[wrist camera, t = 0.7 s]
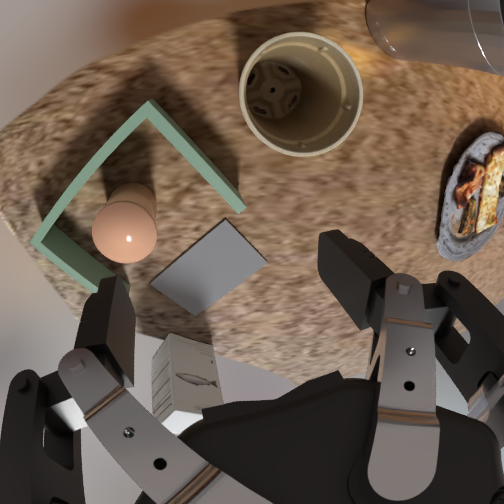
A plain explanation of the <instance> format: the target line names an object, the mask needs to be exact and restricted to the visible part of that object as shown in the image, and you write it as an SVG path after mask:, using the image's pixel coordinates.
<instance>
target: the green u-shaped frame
mask: <svg viewBox="0 0 504 504" xmlns="http://www.w3.org/2000/svg"><path fill="white" fill-rule="evenodd" d="M146 118H147V119H148V120H149V121H150V122H151V123H152V124H153V125H154V126H155V127H156V128H157V129H158V130H159V131H160V132H161V133H162V134H163V135H164V136H165V137H166V138H167V139H168V140H169V141H170V142H171V143H172V145H173V146H174V147H175V148H176V149H177V150H178V151H179V152H180V153H181V154H182V155H183V156H184V157H185V158H186V159H187V160H188V161H189V162H190V163H191V164H192V165H193V167H194V168H195V169H196V170H197V171H198V172H199V173H200V174H201V175H202V176H203V177H204V178H205V179H206V180H207V181H208V182H209V183H210V185H211V186H212V187H213V188H214V189H215V190H216V191H217V192H218V193H219V194H220V195H221V196H222V197H223V198H224V199H225V200H226V202H227V203H228V204H229V205H230V206H231V207H232V208H233V209H234V210H235V211H236V212H237V213H238V214H239V213H240V212H242V211H243V210H244V209H245V208H247V207H246V205H245V203H244V201H243V199H242V197H241V195H240V193H239V192H238V190H237V189H236V188H235V187H234V186H233V185H232V184H231V183H230V181H229V180H228V179H227V178H226V177H225V176H224V175H223V174H222V173H221V171H220V170H219V169H218V168H217V167H216V166H215V165H214V164H213V163H212V162H211V160H210V159H209V158H208V157H207V156H206V155H205V154H204V153H203V152H202V151H201V149H200V148H199V147H198V146H197V145H196V144H195V143H194V142H193V141H192V140H191V139H190V138H189V136H188V135H187V134H186V133H185V132H184V131H183V130H182V129H181V128H180V127H179V126H178V125H177V124H176V122H175V121H174V120H173V119H172V118H171V117H170V116H169V115H168V114H167V113H166V112H165V111H164V110H163V109H162V108H161V107H160V106H159V104H158V103H157V102H156V101H155V100H154V99H153V98H152V99H150V100H148V101H147V102H146V103H145V104H144V105H143V106H141V107H140V108H139V109H138V110H137V111H136V112H135V113H134V114H133V115H132V116H131V117H130V118H129V119H128V120H127V121H126V122H125V123H124V124H123V125H122V126H121V127H120V128H119V129H118V130H117V131H116V132H115V133H114V134H113V135H112V136H111V137H110V139H109V140H108V141H107V142H106V143H105V144H104V145H103V146H102V147H101V148H100V149H99V151H98V152H97V153H96V154H95V155H94V156H93V157H92V159H91V160H90V161H89V162H88V163H87V164H86V166H85V167H84V168H83V169H82V170H81V172H80V173H79V174H78V175H77V176H76V178H75V179H74V180H73V181H72V183H71V184H70V185H69V187H68V188H67V189H66V191H65V192H64V193H63V194H62V196H61V197H60V199H59V200H58V201H57V203H56V204H55V205H54V207H53V208H52V210H51V211H50V212H49V214H48V215H47V217H46V218H45V220H44V221H43V223H42V224H41V226H40V227H39V229H38V230H37V232H36V233H35V235H34V236H33V238H32V240H31V241H30V244H32V245H33V246H34V247H35V248H36V249H37V250H39V251H40V252H41V253H42V254H43V255H45V256H46V257H47V258H48V259H49V260H51V261H52V262H53V263H54V264H56V265H57V266H58V267H59V268H61V269H62V270H63V271H65V272H66V273H67V274H68V275H70V276H71V277H72V278H74V279H75V280H76V281H78V282H79V283H80V284H82V285H83V286H84V287H86V288H87V289H88V290H90V291H91V292H93V293H97V291H98V287H99V283H100V280H101V279H102V278H105V277H110V276H115V275H116V274H114V273H113V272H112V271H110V270H109V269H108V268H106V267H105V266H104V265H103V264H101V263H100V262H99V261H97V260H96V259H95V258H94V257H92V256H91V255H90V254H89V253H87V252H86V251H85V250H84V249H83V248H81V247H80V246H79V245H78V244H76V243H75V242H74V241H73V240H72V239H70V238H69V237H68V236H67V235H66V234H65V233H63V232H62V231H61V230H60V229H59V228H58V227H56V226H55V225H54V222H55V221H56V220H57V218H58V217H59V215H60V214H61V213H62V211H63V210H64V209H65V207H66V206H67V205H68V204H69V202H70V201H71V200H72V198H73V197H74V196H75V195H76V193H77V192H78V191H79V190H80V188H81V187H82V186H83V185H84V184H85V182H86V181H87V180H88V179H89V178H90V176H91V175H92V174H93V173H94V172H95V171H96V169H97V168H98V167H99V166H100V165H101V164H102V163H103V162H104V160H105V159H106V158H107V157H108V156H109V155H110V154H111V153H112V152H113V151H114V150H115V149H116V148H117V146H118V145H119V144H120V143H121V142H122V141H123V140H124V139H125V138H126V137H127V136H128V135H129V134H130V133H131V132H132V131H133V130H134V129H135V128H136V127H137V126H138V125H139V124H140V123H142V122H143V121H144V120H145V119H146ZM123 283H124V285H125V288H126V290H127V293H128V295H129V290H130V285H129V284H128V283H126V282H125V281H124V280H123Z"/></svg>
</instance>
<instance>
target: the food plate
mask: <svg viewBox="0 0 504 504" xmlns="http://www.w3.org/2000/svg"><path fill="white" fill-rule="evenodd" d="M456 161H459V163H456V164H455V165H454V166H453V174H452V176H449V178H448V181H447V185H446V191H445V192H446V195H445V197H444V203H443V206H442V214H441V218H442V220H441V223H440V227H439V228H440V234H439V235H440V236H439V239H438V240H439V242H438V240H437V242H436V243H437V248H438V251H439V253H440V255H442V257H444V258H446V259H449V260H451V261H462V260H464V259H467V258H469V257H471V256H472V255H473V254H475V253H477V252H478V251H479V250H480V249H481V248H482V247H483V246H484V245H485V244H486V243H487V242H488V241H489V240H490V238H491V237H492V236H493V234H494V233H495V231H496V230H497V228H498V226H499V225H500V223H501V221H502V218H503V216H504V136H503V135H502V134H501V133H498V132H493V131H486V132H483V133H481V134H479V135H478V136H477V137H476V138H475V139H474V141H473V142H472V143H471V144H470V145H469V146H467V147H466V148H465V149H464V150H463V153H462V154H461V155H460V157H459V160H456ZM476 192H477V193H476ZM444 194H445V193H444ZM453 209H454V211H452V210H453ZM455 212H456V213H455ZM448 213H449V215H450V217H449V215H448ZM450 213H451V214H452V215H453V214H454V213H455V218H454V220H453V223H454V222H456V218H458V219H459V221H460V220H461V224H460V228H459V231H458V233H459V234H462V235H463V236H464V235H467V236H464V237H462V238H461V237H460V238H459V237H456V236H455V235H454V236H453V233H452V232H453V231H452V232H451V231H450V230H451V228H452V226H451V223H450V222H451V219H450V218H451V217H452V215H451V214H450ZM449 219H450V222H449ZM449 223H450V224H449ZM474 225H475V227H474ZM473 227H474V228H475V232H472V233H471V231H472V230H473ZM454 234H455V233H454Z"/></svg>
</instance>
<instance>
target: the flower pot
mask: <svg viewBox="0 0 504 504" xmlns="http://www.w3.org/2000/svg"><path fill="white" fill-rule="evenodd" d="M279 67H281V68H283V69H285V70H286V71H287V72H288V74H286V73H284V72H283V73H282V71H281V70H279ZM252 73H253V74H255V77H254V78H253V80H252V81H251V83H250V85H249V84H246V83H247V79H248V77H249V76H250V74H252ZM271 88H274V89H275V91H274V92H271ZM294 96H296V97H297V98H296V102H295V104H294V105H293V106H292V107H289V105H290V103H291V102H292V100H293V98H294ZM239 102H240V107H241V111H242V113H243V116H244V118H245V120H246V122H247V124H248V126H249V127H250V129H251V130H252V132H253V133H254V134H255V135H256V136H257V137H258V138H259V139H260V140H261V141H262V142H263V143H265V144H266V145H268V146H269V147H271V148H272V149H274V150H276V151H279V152H281V153H284V154H287V155H292V156H301V157H306V156H314V155H319V154H322V153H325V152H327V151H329V150H331V149H333V148H335V147H337V146H338V145H339V144H340V143H342V142H343V141H344V140H345V139H346V138H347V137H348V136H349V134H350V133H351V132H352V130H353V129H354V127H355V125H356V123H357V121H358V119H359V116H360V113H361V109H362V104H363V87H362V82H361V78H360V74H359V71H358V69H357V67H356V65H355V63H354V61H353V60H352V59H351V57H350V56H349V55H348V54H347V52H346V51H345V50H344V49H343V48H342V47H340V46H339V45H338V44H336V43H335V42H333V41H331V40H330V39H327V38H326V37H323V36H321V35H318V34H314V33H310V32H309V33H308V32H290V33H285V34H281V35H278V36H276V37H274V38H272V39H270V40H268V41H266V42H265V43H263V44H262V45H261V46H260V47H258V48H257V49H256V50H255V51H254V53H253V54H252V55H251V56H250V58H249V59H248V61H247V62H246V64H245V66H244V68H243V71H242V74H241V77H240V82H239ZM254 107H258V108H260V109H261V110H264V111H266V113H265V114H264V113H259V112H257V111H255V110H254Z"/></svg>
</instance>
